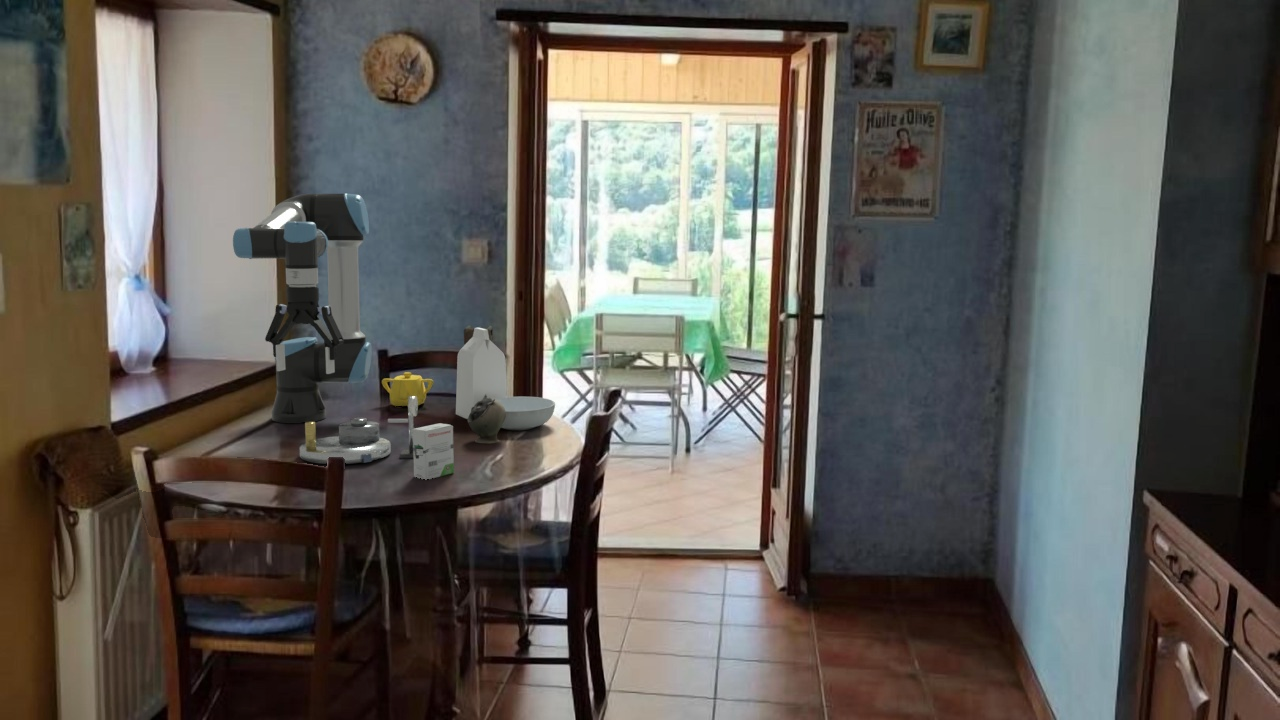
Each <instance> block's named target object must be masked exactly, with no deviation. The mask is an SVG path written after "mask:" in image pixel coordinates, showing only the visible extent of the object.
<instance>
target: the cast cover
mask: <svg viewBox="0 0 1280 720" xmlns="http://www.w3.org/2000/svg"><path fill="white" fill-rule="evenodd" d="M367 419H368V418H366V417H353V418H350V421H347V422H343V423H340V424H338V436H339V442H340V443H343V444H348V445H363V444H370V443H375V442H377V441H379V440H380V438H381V437H380V423H379V422H376V421H372V420H371V421H370V420H367ZM379 437H380V438H379Z"/></svg>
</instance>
